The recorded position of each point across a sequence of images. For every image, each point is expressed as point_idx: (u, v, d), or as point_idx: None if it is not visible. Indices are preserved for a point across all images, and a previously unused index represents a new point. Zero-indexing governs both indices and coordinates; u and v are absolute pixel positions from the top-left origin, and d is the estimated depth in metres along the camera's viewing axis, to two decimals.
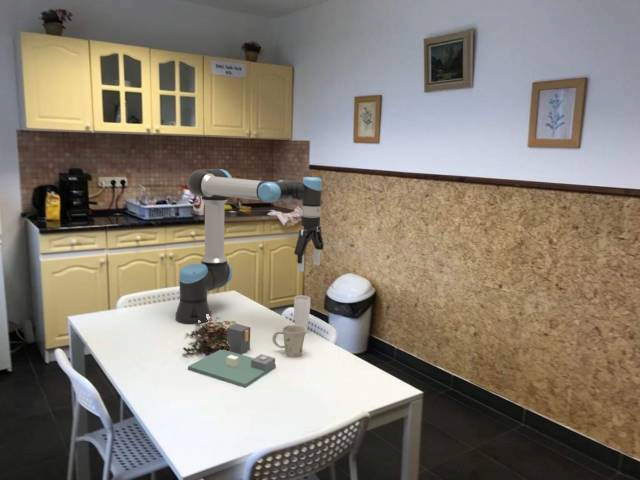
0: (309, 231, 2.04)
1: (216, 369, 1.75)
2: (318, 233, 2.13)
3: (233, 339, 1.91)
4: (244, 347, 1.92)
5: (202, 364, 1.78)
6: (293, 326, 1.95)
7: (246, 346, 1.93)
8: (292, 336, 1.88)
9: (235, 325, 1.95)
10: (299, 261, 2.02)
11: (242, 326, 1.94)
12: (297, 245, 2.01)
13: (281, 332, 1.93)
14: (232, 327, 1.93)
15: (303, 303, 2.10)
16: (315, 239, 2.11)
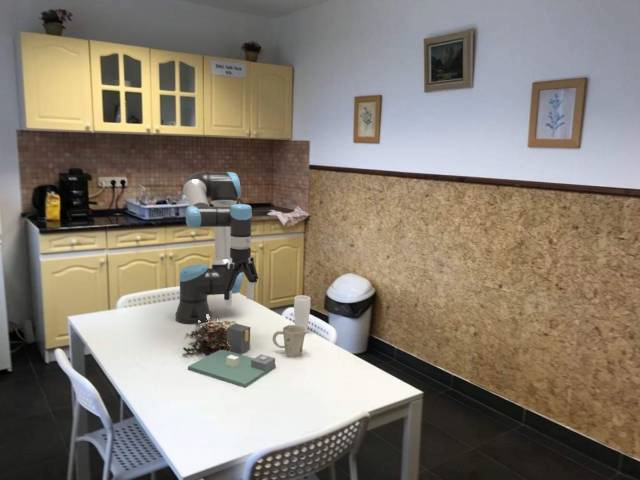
0: (238, 264, 1.85)
1: (216, 369, 1.75)
2: (251, 265, 1.94)
3: (233, 339, 1.91)
4: (244, 347, 1.92)
5: (202, 364, 1.78)
6: (293, 326, 1.95)
7: (246, 346, 1.93)
8: (292, 336, 1.88)
9: (235, 325, 1.95)
10: (226, 297, 1.83)
11: (242, 326, 1.94)
12: (223, 280, 1.82)
13: (281, 332, 1.93)
14: (232, 327, 1.93)
15: (303, 303, 2.10)
16: (247, 272, 1.92)
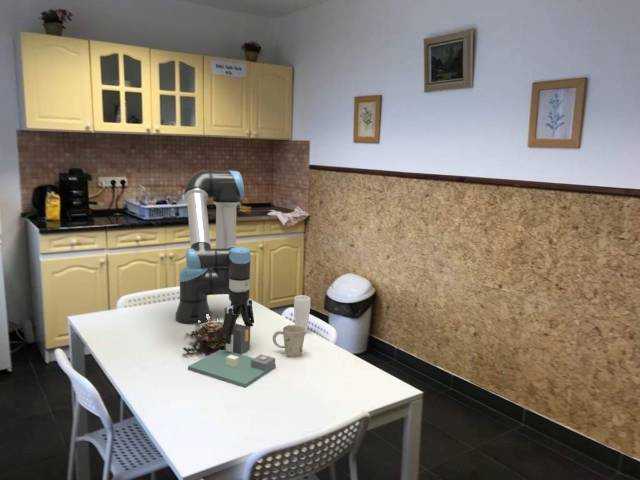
0: (236, 306, 1.88)
1: (216, 369, 1.75)
2: (249, 307, 1.96)
3: (233, 339, 1.91)
4: (244, 347, 1.92)
5: (202, 364, 1.78)
6: (293, 326, 1.95)
7: (246, 346, 1.93)
8: (292, 336, 1.88)
9: (235, 325, 1.95)
10: (227, 341, 1.87)
11: (242, 326, 1.94)
12: (224, 325, 1.86)
13: (281, 332, 1.93)
14: None
15: (303, 303, 2.10)
16: (244, 314, 1.94)
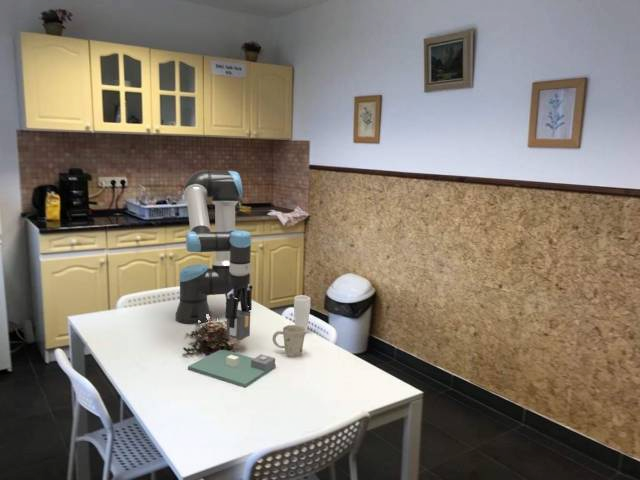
0: (237, 290, 1.87)
1: (216, 369, 1.75)
2: (248, 292, 1.95)
3: None
4: (244, 333, 1.92)
5: (202, 364, 1.78)
6: (293, 326, 1.95)
7: (246, 332, 1.93)
8: (292, 336, 1.88)
9: None
10: (231, 325, 1.89)
11: (242, 312, 1.93)
12: (226, 310, 1.86)
13: (281, 332, 1.93)
14: None
15: (303, 303, 2.10)
16: (243, 299, 1.92)
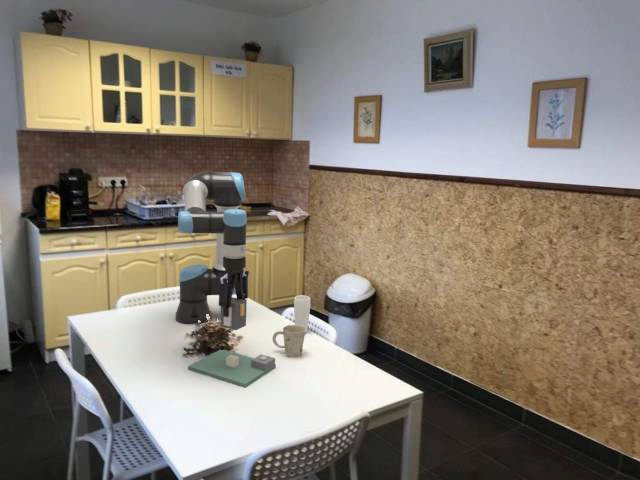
0: (231, 274, 1.70)
1: (216, 369, 1.75)
2: (244, 279, 1.77)
3: None
4: (240, 322, 1.74)
5: (202, 364, 1.78)
6: (293, 326, 1.95)
7: (242, 321, 1.75)
8: (292, 336, 1.88)
9: None
10: (225, 314, 1.71)
11: (237, 299, 1.75)
12: (220, 296, 1.68)
13: (281, 332, 1.93)
14: None
15: (303, 303, 2.10)
16: (238, 285, 1.75)
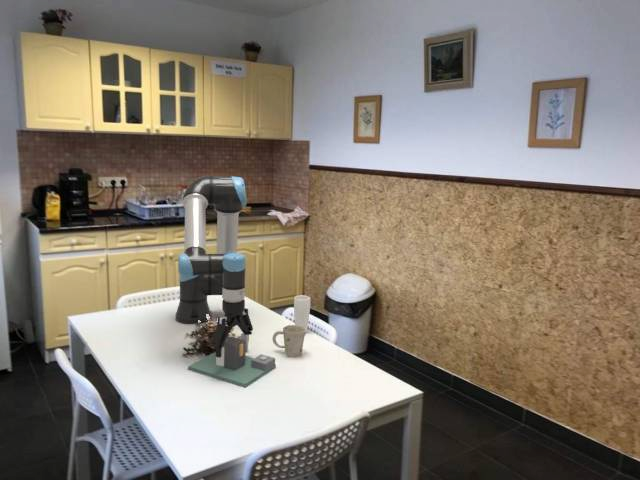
0: (231, 318, 1.72)
1: (216, 369, 1.75)
2: (245, 316, 1.81)
3: (226, 353, 1.75)
4: (239, 362, 1.76)
5: (202, 364, 1.78)
6: (293, 326, 1.95)
7: (241, 361, 1.77)
8: (292, 336, 1.88)
9: (229, 338, 1.79)
10: (218, 355, 1.70)
11: (236, 339, 1.78)
12: (215, 336, 1.69)
13: (281, 332, 1.93)
14: (226, 340, 1.76)
15: (303, 303, 2.10)
16: (240, 324, 1.79)
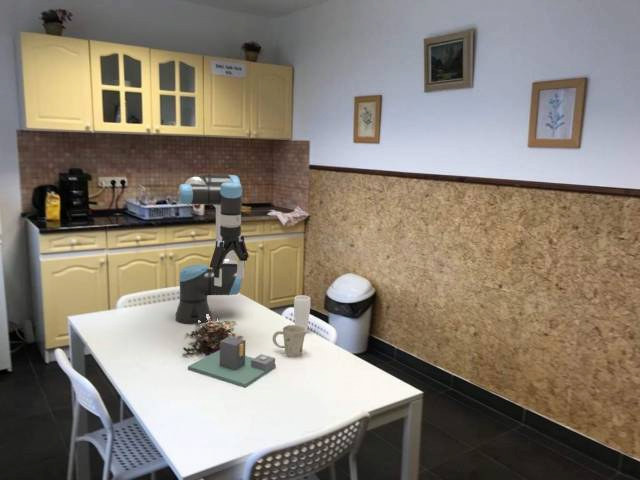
0: (228, 242, 1.86)
1: (216, 369, 1.75)
2: (241, 243, 1.95)
3: (226, 353, 1.75)
4: (239, 362, 1.76)
5: (202, 364, 1.78)
6: (293, 326, 1.95)
7: (241, 361, 1.77)
8: (292, 336, 1.88)
9: (229, 338, 1.79)
10: (215, 275, 1.84)
11: (236, 339, 1.78)
12: (213, 258, 1.83)
13: (281, 332, 1.93)
14: (226, 340, 1.76)
15: (303, 303, 2.10)
16: (237, 250, 1.93)
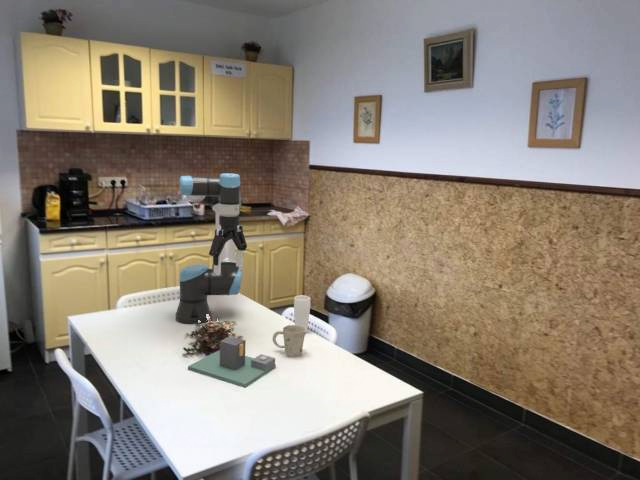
0: (226, 231, 1.92)
1: (216, 369, 1.75)
2: (239, 233, 2.00)
3: (226, 353, 1.75)
4: (239, 362, 1.76)
5: (202, 364, 1.78)
6: (293, 326, 1.95)
7: (241, 361, 1.77)
8: (292, 336, 1.88)
9: (229, 338, 1.79)
10: (215, 263, 1.90)
11: (236, 339, 1.78)
12: (212, 246, 1.88)
13: (281, 332, 1.93)
14: (226, 340, 1.76)
15: (303, 303, 2.10)
16: (235, 239, 1.98)
